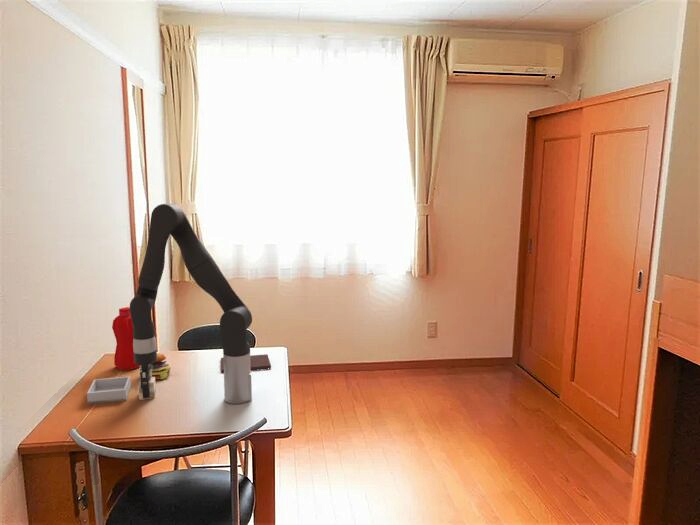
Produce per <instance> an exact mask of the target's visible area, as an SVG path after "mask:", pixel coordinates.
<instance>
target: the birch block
mask: <svg viewBox="0 0 700 525" xmlns="http://www.w3.org/2000/svg"><path fill="white" fill-rule="evenodd" d="M144 385H147V382H144ZM149 385H150V387H149V391H150V397H149V398H143V391H142V389H141V381H140V380H139V382H138V399H139V401H140V400H151V399H155V397H156V394H157V390H156V387H157V386H156V379H155V377H151V381H150V382H149Z"/></svg>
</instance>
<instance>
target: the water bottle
mask: <svg viewBox="0 0 700 525" xmlns="http://www.w3.org/2000/svg"><path fill="white" fill-rule="evenodd" d="M111 326H112V331H113V334H114V338H115V341H116V347H115V353H114V366H115V368H116V369H118V370H120V371H122V370H127V371H130V370H133V369H137V368H140V367H141V365H137V364H135V363H134V350H133V341H134V337H133V324H132V320H131V316H130V306H125V307H121V308H118V315H116V317H115V318H114V319H113V321H112V325H111Z"/></svg>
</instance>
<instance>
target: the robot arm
mask: <svg viewBox="0 0 700 525" xmlns="http://www.w3.org/2000/svg"><path fill="white" fill-rule="evenodd" d="M149 221H150V222H149V223H150V224H149V230H148V232H149V233H148V238H147V244H146V245H147V246H146V250H145V254H144V258H143V262H142V265H141V269H140V273H139V276H138V281H137V283H138V287H137V290H136V292H135V293H136V294H135V296H134V297H133V298H132V299H131V300H130V303H129V307H130V316H131V320H132V324H133V337H134V341H133V350H134V363H135V364H137V365H141V366H140V368H139V376H140V378H139V381H141V389H142V391H143V398H149V397H150V391H149V387H150V385H149V382H150V381H151V377H152V374H153V365H152V364H153V363H155V362H156V361H157V354H158V353H157V339H156V332H155V331H156V330H155V322H154V321H153V319H152V310H153V308H154V306H155V304H156V300H157V296H158V289H159V286H160V283H161V281H162V277H163V274H164V269H165V265H166V264H165V262H166V261H165V258H166V246H167V243H168V240H169V237H170V236H171V237H172V239H173V240H174V242H176V244H177V245H178V248H179V250H180V253H181V256H182V260H183V263H184V266H185V268H186V270H187V271H188V273H189V274H190V276H191V277H192V279H193V280H194V281H195V283H196V284H197V285H198V287H200V288H201V289H202V290H203V292H205V293H207V295H210V297H212V298H213V299H214V300H215V301H216V303H218V305H219V306H220V308H221V310H222V311H223V314H222V315H221V317H220V318H219V336H220V345H221V348H222V355H223V356H222V358H223V361H224V373H223V388H224V393H223V394H224V401H225V402H226V403H228V404H231V405H233V404H234V405H241V404H244V403H247V402H251V401H252V400H253V393H252V388H253V387H252V371H251V367H250V356H251V345H250V343H249V341H248V340H247V329H248V328H249V327H250V326H252V322H253V316H252V312H251V311H250V309H249V308H248V306H247V305H246V304H245V303H244V301H242V299H241V298H240V297H239V296H238V294H236V292H235V291H234V289H233V288H232V286H231V285H230V283H229V280H227V278H226V276H225V275H224V273H223V272H222V271H221V269H220V267H219V266H218V264H217V263H216V261H215V259H214V258H213V257H212V256H211V254H210V252H209V251H208V250H207V248H206V246H205V245H204V244H203V243H202V241H201V240H200V239H199V237H198V235H197V233H195V231H194V229H193V227H192V225H191V223H190V221H189V220H188V218H187V215H186V214H185V212H184V210H183V209H182V207H180V206H178V205H176V204H174V203H173V204H172V203H162V204H158V205H157V206H155V207H154V208H153V210H152V212H151V216H150V220H149ZM247 341H248V342H247ZM144 382H147V385H144Z"/></svg>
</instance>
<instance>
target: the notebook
mask: <svg viewBox="0 0 700 525" xmlns="http://www.w3.org/2000/svg"><path fill="white" fill-rule="evenodd" d="M250 367H251V370H253V371H258V370H257V369H266V370H269V369H268V368H271V369H272V366H271V362H270V358H269V355H268V353H267V354H265V353H264V354H256V355H255V354H254V355H250ZM220 370H221V371H220V372H221V374H224V361H223V357H220Z"/></svg>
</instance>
